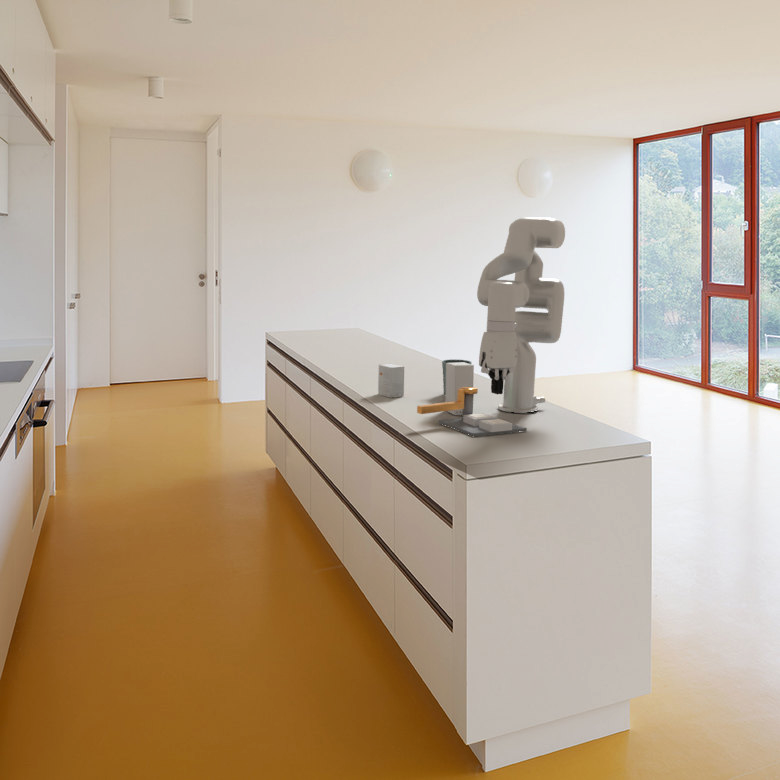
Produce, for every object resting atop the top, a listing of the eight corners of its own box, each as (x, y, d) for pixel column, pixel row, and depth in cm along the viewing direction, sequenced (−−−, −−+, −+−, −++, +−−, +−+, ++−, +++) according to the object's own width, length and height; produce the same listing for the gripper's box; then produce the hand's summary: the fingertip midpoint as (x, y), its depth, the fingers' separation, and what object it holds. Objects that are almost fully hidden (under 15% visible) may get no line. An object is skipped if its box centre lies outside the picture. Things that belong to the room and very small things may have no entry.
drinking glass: (474, 394, 274) (475, 361, 272) (463, 399, 266) (464, 364, 263) (447, 391, 279) (449, 358, 277) (436, 395, 270) (437, 361, 268)
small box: (404, 396, 266) (405, 366, 264) (390, 398, 263) (391, 367, 261) (390, 393, 273) (391, 363, 271) (377, 394, 270) (378, 364, 268)
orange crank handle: (468, 404, 232) (469, 386, 231) (480, 407, 228) (481, 389, 227) (413, 411, 219) (414, 392, 218) (425, 415, 215) (426, 395, 214)
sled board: (489, 418, 235) (490, 391, 233) (527, 432, 219) (529, 402, 217) (438, 423, 226) (439, 394, 225) (474, 437, 210) (476, 406, 209)
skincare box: (472, 415, 239) (475, 365, 236) (452, 415, 237) (455, 365, 235) (462, 409, 247) (465, 361, 244) (443, 410, 245) (445, 361, 243)
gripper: (514, 325, 219) (510, 389, 222) (470, 326, 212) (466, 392, 215) (530, 328, 212) (526, 394, 215) (486, 329, 205) (482, 397, 208)
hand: (496, 393), depth 215 cm, fingers closed
